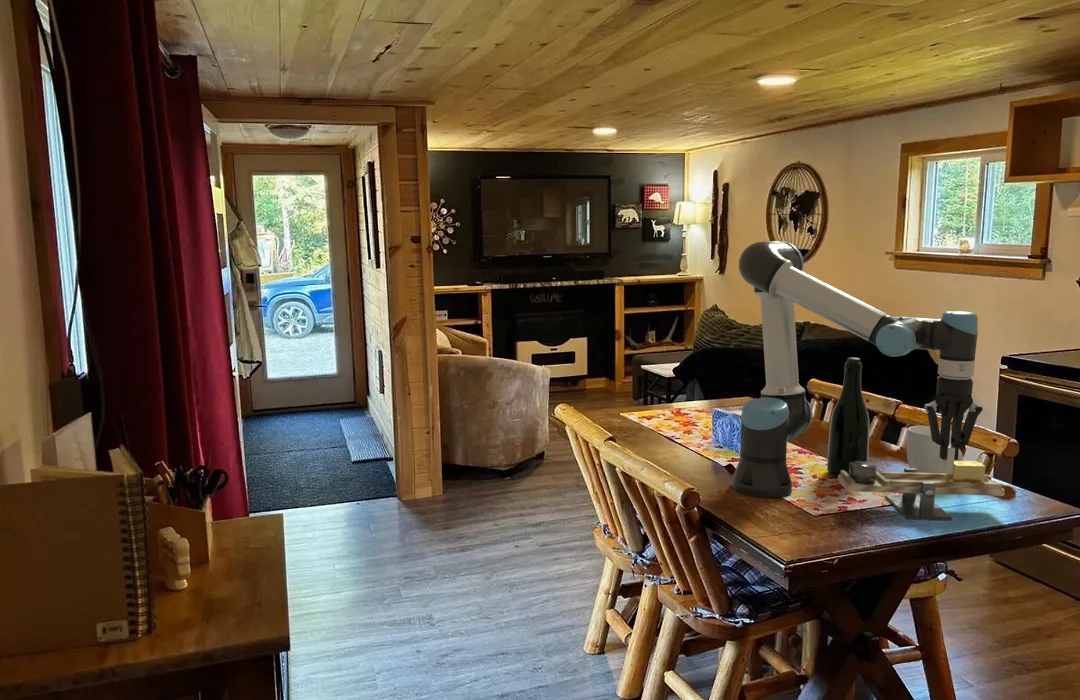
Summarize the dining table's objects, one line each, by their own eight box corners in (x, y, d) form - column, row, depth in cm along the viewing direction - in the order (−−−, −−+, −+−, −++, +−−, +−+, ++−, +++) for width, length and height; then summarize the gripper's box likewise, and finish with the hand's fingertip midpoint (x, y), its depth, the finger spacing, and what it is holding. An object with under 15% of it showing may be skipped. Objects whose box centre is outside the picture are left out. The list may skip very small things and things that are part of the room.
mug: (971, 481, 209) (975, 435, 207) (949, 489, 203) (952, 441, 201) (918, 467, 221) (921, 423, 219) (896, 474, 215) (899, 429, 213)
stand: (907, 519, 182) (910, 485, 181) (885, 497, 197) (887, 465, 196) (951, 520, 182) (954, 486, 180) (925, 498, 196) (928, 466, 195)
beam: (847, 491, 186) (848, 479, 186) (837, 480, 194) (838, 469, 194) (1004, 495, 183) (1005, 484, 183) (987, 484, 191) (988, 473, 191)
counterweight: (852, 484, 187) (854, 468, 186) (845, 476, 193) (846, 460, 192) (878, 484, 186) (879, 468, 186) (870, 477, 192) (871, 461, 192)
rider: (953, 485, 186) (954, 465, 185) (945, 480, 190) (947, 460, 189) (983, 486, 185) (985, 466, 184) (975, 481, 189) (977, 461, 188)
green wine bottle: (836, 466, 223) (843, 353, 218) (873, 474, 216) (881, 357, 211) (820, 474, 216) (826, 357, 211) (857, 483, 208) (864, 362, 203)
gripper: (933, 379, 181) (925, 476, 184) (991, 380, 179) (982, 477, 183) (920, 373, 188) (913, 467, 192) (976, 374, 187) (968, 468, 191)
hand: (947, 472), depth 187 cm, fingers closed
